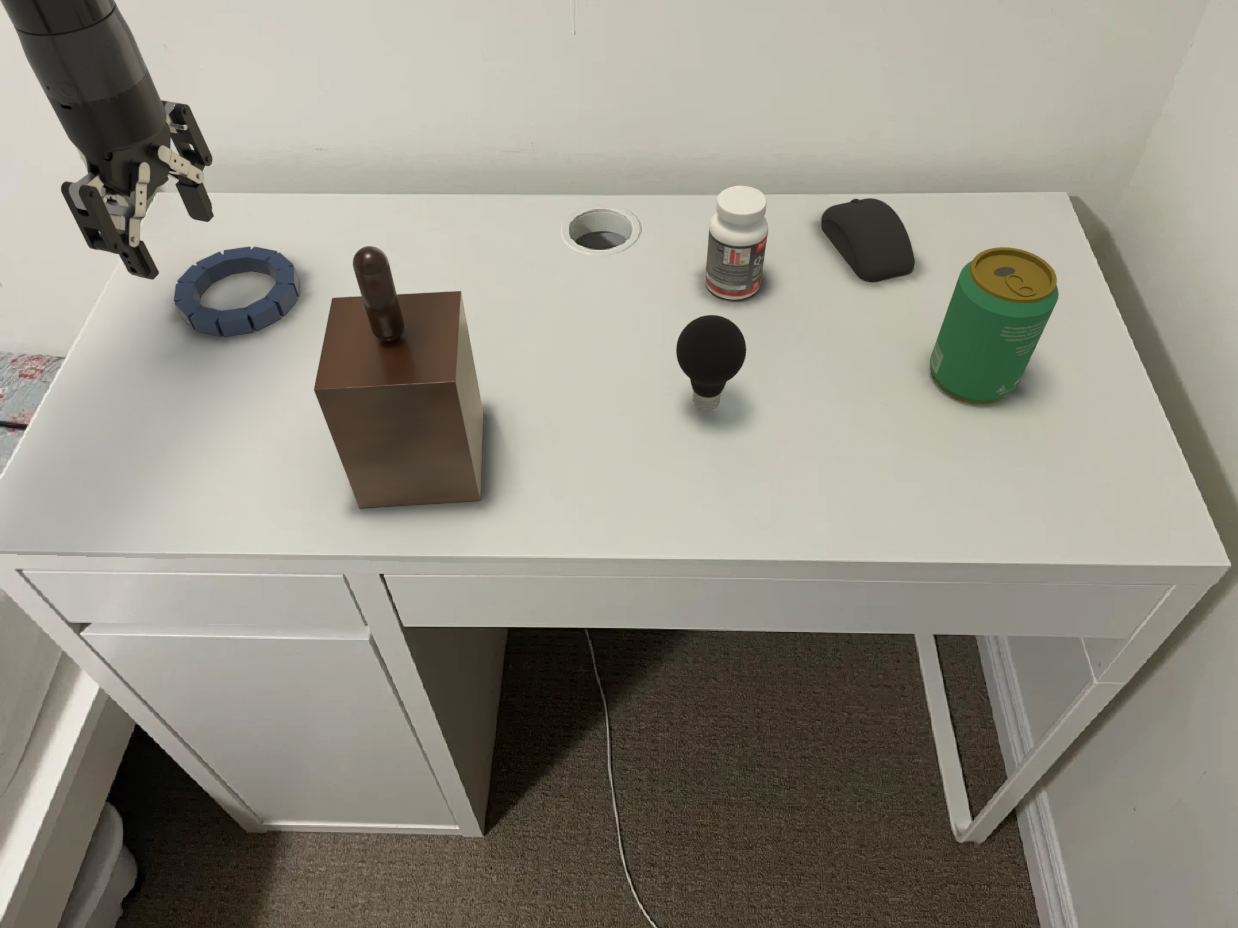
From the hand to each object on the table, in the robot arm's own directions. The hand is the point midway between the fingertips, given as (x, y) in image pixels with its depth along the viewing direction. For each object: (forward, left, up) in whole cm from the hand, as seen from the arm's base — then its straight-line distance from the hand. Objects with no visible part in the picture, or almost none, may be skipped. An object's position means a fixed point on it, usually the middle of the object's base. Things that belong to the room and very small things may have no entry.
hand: (176, 246), depth 82 cm
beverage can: (+72, -13, -10) cm, 74 cm away
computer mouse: (+67, +7, -10) cm, 68 cm away
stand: (+22, -19, -10) cm, 30 cm away
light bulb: (+47, -15, -10) cm, 50 cm away
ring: (+2, +4, -10) cm, 11 cm away
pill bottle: (+52, +2, -10) cm, 53 cm away
